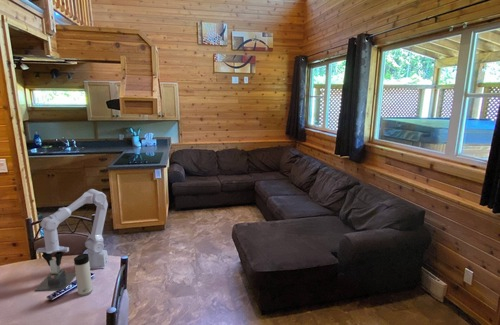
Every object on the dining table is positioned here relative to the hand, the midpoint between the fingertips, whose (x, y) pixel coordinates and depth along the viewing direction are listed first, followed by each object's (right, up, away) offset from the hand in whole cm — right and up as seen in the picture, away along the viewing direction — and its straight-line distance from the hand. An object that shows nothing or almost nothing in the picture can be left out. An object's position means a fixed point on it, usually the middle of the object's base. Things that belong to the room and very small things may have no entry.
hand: (54, 264), depth 155 cm
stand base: (0, -10, +2) cm, 10 cm away
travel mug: (+19, -12, -6) cm, 23 cm away
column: (0, -7, +2) cm, 7 cm away
